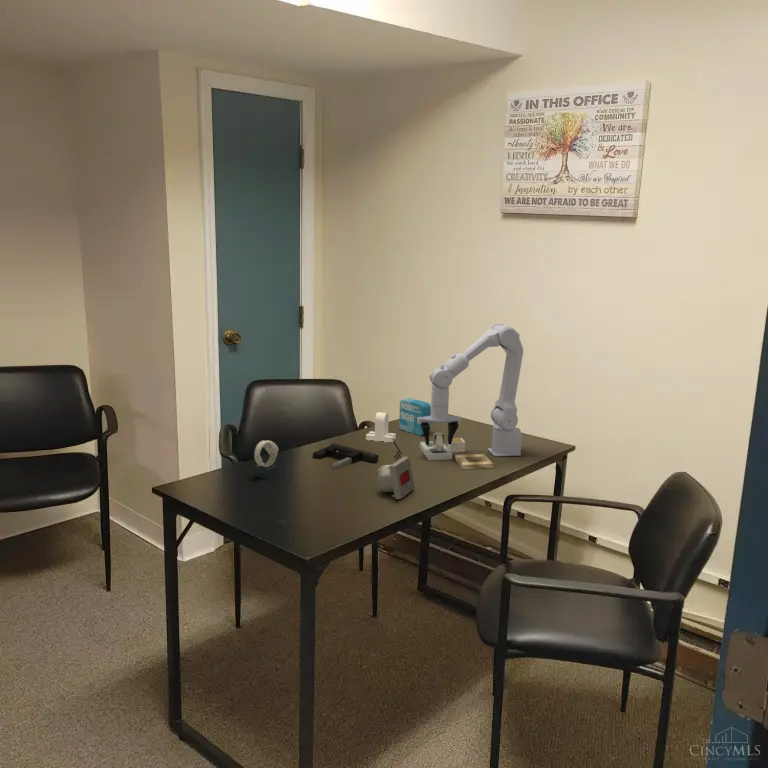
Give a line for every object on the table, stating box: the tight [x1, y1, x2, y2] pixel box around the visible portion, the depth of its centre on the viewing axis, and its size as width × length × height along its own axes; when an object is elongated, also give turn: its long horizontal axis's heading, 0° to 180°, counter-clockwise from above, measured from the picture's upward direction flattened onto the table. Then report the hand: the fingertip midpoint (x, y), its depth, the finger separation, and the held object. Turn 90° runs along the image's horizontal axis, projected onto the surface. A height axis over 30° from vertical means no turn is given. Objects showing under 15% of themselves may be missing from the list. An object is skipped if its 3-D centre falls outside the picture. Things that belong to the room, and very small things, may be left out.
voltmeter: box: [375, 440, 415, 500], centre depth 213 cm, size 27×11×10 cm, turn 9°
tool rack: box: [419, 441, 453, 461], centre depth 243 cm, size 8×14×2 cm, turn 9°
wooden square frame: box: [454, 453, 494, 470], centre depth 233 cm, size 10×10×2 cm
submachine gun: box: [312, 442, 379, 470], centre depth 234 cm, size 3×20×16 cm
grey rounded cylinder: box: [432, 432, 445, 453], centre depth 239 cm, size 4×4×8 cm
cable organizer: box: [365, 411, 397, 443], centre depth 257 cm, size 5×10×10 cm, turn 73°
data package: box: [398, 397, 431, 437], centre depth 267 cm, size 12×4×12 cm, turn 44°
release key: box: [452, 437, 462, 442], centre depth 247 cm, size 3×3×3 cm
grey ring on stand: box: [253, 439, 279, 479], centre depth 218 cm, size 6×8×11 cm
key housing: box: [446, 437, 466, 453], centre depth 247 cm, size 5×5×4 cm
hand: (438, 444), depth 239 cm, fingers open, 7 cm apart
